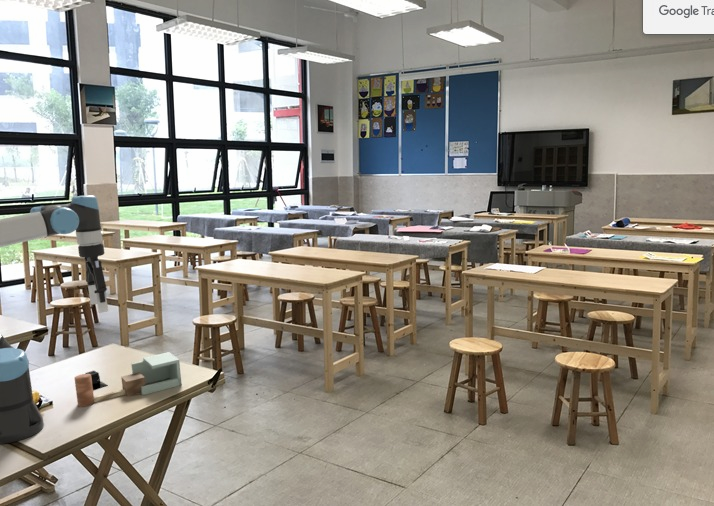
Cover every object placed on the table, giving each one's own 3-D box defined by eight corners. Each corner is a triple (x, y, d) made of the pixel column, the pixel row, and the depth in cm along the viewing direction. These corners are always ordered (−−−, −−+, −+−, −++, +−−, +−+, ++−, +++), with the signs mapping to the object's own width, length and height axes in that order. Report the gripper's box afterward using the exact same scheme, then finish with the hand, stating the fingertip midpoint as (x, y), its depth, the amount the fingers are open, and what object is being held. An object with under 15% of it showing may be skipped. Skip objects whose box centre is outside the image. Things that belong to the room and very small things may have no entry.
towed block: (79, 408, 187) (76, 381, 186) (76, 402, 192) (72, 375, 190) (146, 391, 199) (143, 365, 197) (141, 386, 203) (138, 360, 202)
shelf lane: (142, 395, 196) (139, 368, 194) (133, 385, 204) (131, 360, 203) (181, 384, 203) (179, 359, 202) (171, 376, 211) (169, 351, 210)
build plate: (112, 387, 205) (111, 374, 204) (90, 395, 200) (88, 381, 199) (96, 378, 214) (94, 365, 213) (74, 385, 208) (72, 371, 208)
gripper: (111, 246, 185) (119, 313, 188) (95, 238, 205) (103, 298, 209) (85, 249, 180) (94, 317, 184) (71, 241, 201) (80, 302, 205)
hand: (99, 307), depth 197 cm, fingers open, 13 cm apart
